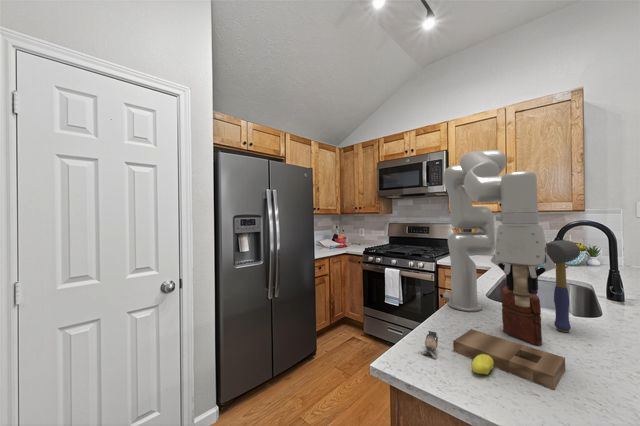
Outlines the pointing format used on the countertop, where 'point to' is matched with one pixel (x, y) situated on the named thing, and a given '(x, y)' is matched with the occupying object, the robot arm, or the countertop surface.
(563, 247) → the rubber mallet
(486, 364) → the lemon
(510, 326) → the wooden figurine
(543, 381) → the board
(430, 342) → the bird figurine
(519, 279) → the dowel
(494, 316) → the countertop surface
